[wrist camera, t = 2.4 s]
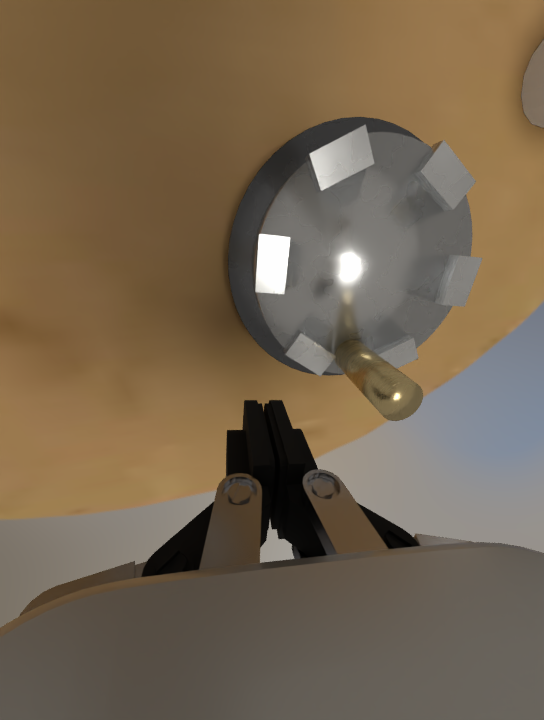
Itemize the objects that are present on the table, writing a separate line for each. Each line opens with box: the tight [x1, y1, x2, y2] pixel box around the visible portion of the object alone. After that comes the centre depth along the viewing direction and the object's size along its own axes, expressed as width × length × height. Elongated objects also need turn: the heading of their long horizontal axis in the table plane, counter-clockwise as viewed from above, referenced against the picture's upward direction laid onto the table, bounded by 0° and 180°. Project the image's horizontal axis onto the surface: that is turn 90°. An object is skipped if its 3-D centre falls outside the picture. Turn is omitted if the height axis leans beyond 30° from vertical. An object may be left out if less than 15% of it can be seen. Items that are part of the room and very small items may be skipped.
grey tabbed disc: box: [252, 125, 482, 421], centre depth 16 cm, size 15×15×9 cm
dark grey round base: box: [228, 117, 423, 375], centre depth 21 cm, size 18×18×2 cm
